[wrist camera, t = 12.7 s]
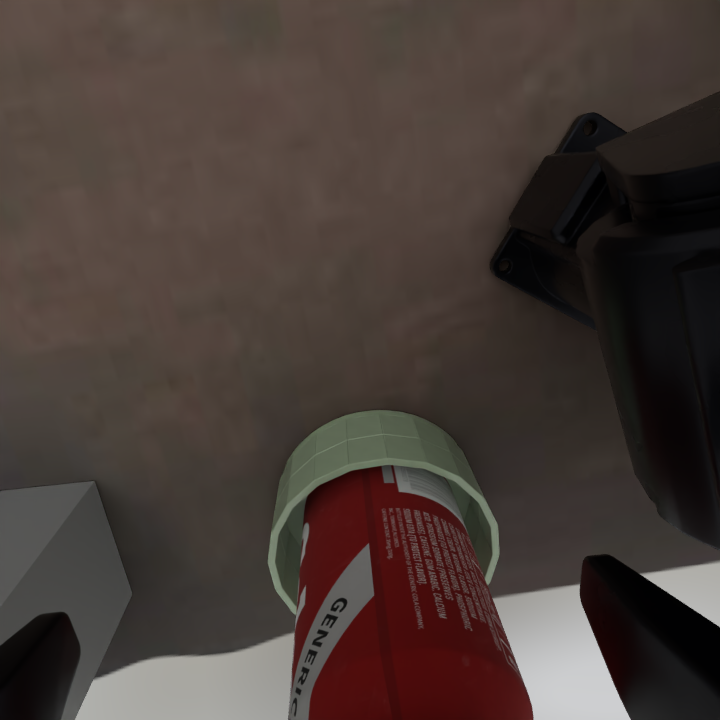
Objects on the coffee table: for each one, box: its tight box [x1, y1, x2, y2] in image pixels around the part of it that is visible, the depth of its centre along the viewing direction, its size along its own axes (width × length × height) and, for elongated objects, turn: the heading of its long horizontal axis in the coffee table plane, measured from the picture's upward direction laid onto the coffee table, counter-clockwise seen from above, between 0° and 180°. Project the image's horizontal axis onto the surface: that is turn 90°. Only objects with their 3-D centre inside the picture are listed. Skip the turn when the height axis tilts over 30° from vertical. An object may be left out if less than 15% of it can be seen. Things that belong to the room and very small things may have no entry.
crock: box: [268, 410, 500, 615], centre depth 22 cm, size 9×9×4 cm
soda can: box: [288, 465, 533, 720], centre depth 17 cm, size 7×7×12 cm
